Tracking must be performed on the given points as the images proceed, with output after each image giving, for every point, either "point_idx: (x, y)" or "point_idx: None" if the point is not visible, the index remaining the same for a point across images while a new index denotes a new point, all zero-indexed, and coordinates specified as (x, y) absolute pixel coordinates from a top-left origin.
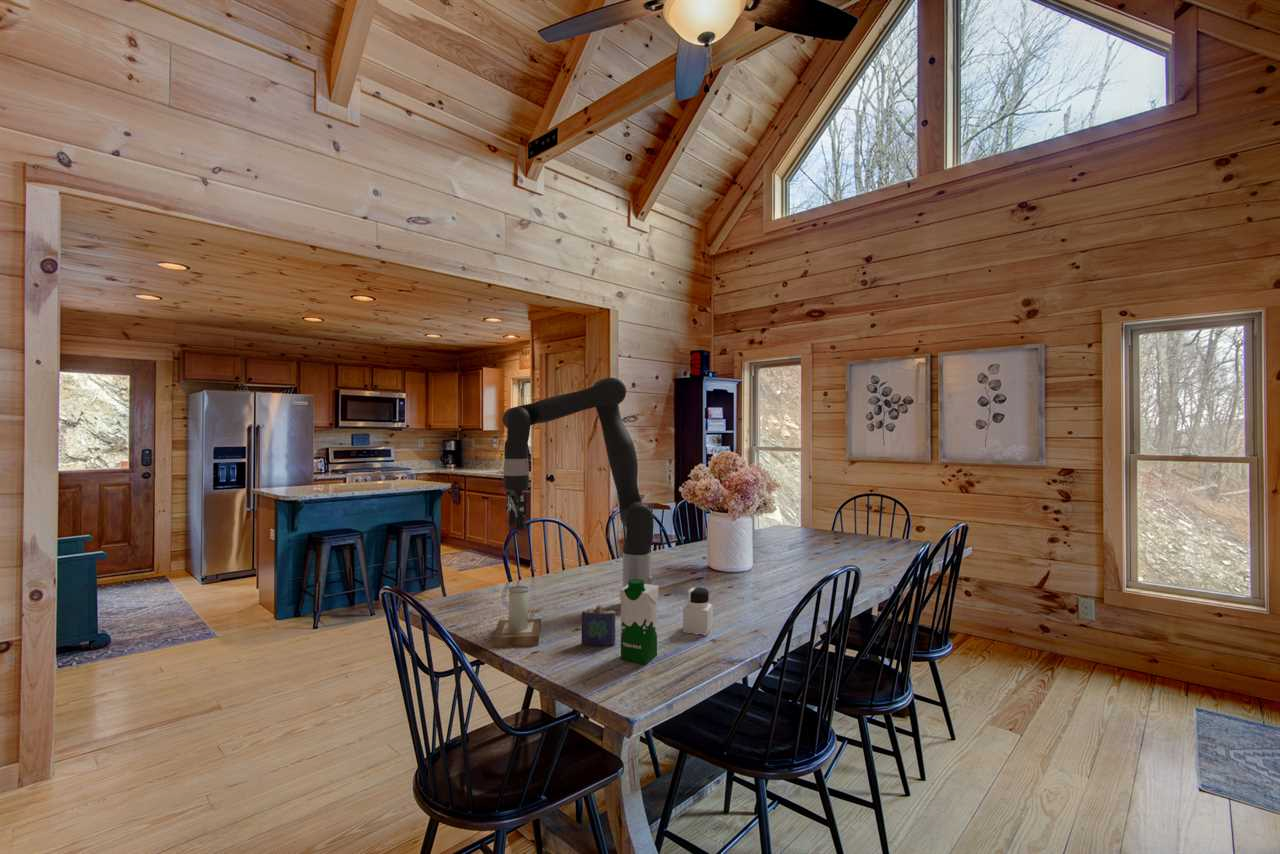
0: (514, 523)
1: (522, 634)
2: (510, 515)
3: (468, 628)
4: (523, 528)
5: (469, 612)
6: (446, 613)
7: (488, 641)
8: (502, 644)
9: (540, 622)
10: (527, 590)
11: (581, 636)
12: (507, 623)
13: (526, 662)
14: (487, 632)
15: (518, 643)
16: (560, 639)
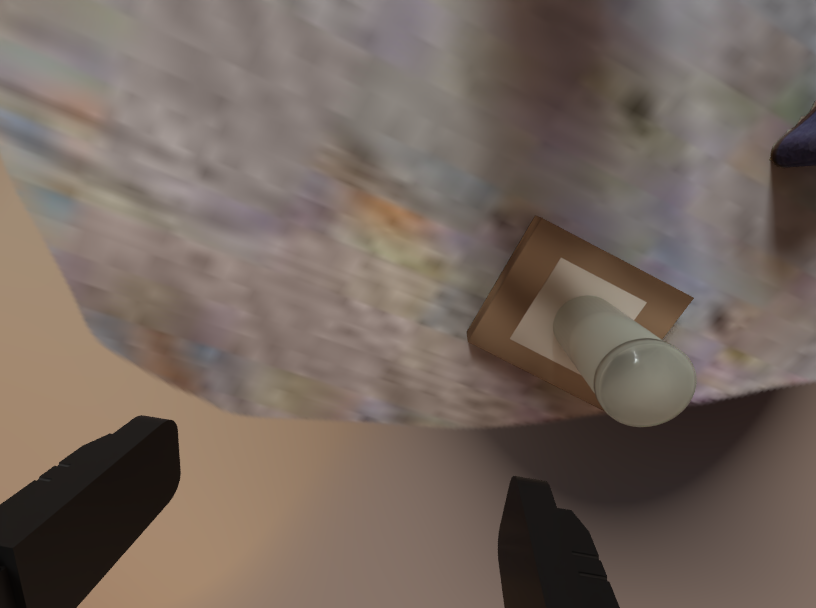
0: (164, 446)
1: None
2: (66, 595)
3: (412, 399)
4: (547, 483)
5: (271, 351)
6: (252, 406)
7: (547, 391)
8: None
9: (576, 237)
10: (685, 357)
11: (799, 165)
12: (518, 334)
13: (767, 368)
14: (476, 369)
15: None
16: (682, 208)
